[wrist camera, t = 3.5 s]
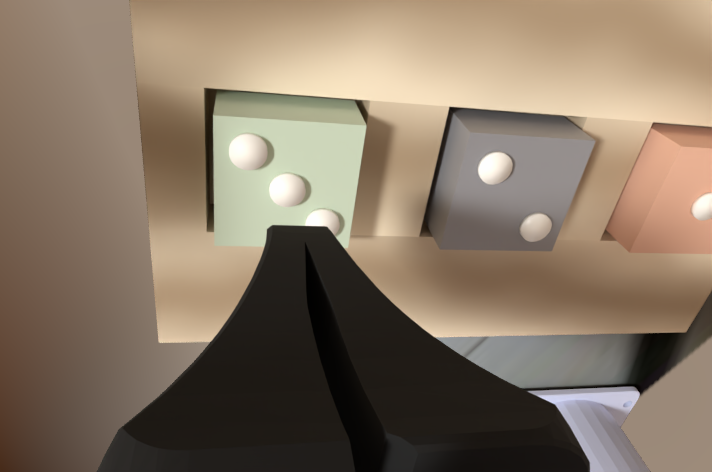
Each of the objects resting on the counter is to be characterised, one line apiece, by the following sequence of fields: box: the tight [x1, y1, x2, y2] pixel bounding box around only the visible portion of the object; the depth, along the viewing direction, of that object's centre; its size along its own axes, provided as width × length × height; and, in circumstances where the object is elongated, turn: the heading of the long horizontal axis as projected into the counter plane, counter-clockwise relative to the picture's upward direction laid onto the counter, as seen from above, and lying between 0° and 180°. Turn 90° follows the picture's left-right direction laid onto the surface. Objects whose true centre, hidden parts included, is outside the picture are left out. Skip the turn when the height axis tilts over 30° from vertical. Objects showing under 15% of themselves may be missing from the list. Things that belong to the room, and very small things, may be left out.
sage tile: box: [213, 90, 367, 248], centre depth 16 cm, size 4×4×2 cm
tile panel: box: [129, 0, 712, 343], centre depth 18 cm, size 14×22×2 cm, turn 82°
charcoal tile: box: [424, 108, 596, 251], centre depth 17 cm, size 4×4×2 cm
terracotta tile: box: [605, 123, 712, 254], centre depth 19 cm, size 4×4×2 cm
